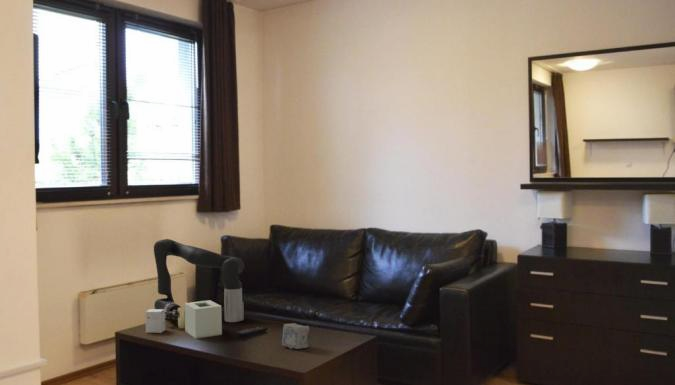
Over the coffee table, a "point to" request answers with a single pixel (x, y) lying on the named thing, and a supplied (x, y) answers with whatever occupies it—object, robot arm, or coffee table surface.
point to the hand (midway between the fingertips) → (182, 316)
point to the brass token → (181, 317)
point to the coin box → (203, 319)
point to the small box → (155, 320)
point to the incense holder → (295, 336)
